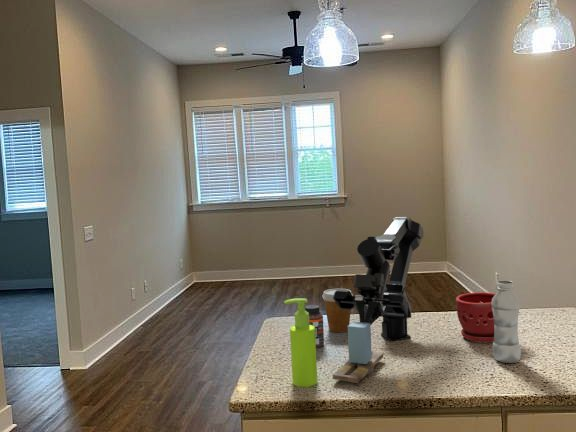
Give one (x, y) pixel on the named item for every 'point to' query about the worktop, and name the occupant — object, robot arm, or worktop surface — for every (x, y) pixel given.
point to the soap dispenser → (303, 347)
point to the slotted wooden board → (357, 369)
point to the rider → (359, 343)
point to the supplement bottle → (316, 323)
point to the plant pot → (476, 316)
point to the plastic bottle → (505, 323)
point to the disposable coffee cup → (335, 312)
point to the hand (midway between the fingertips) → (362, 331)
